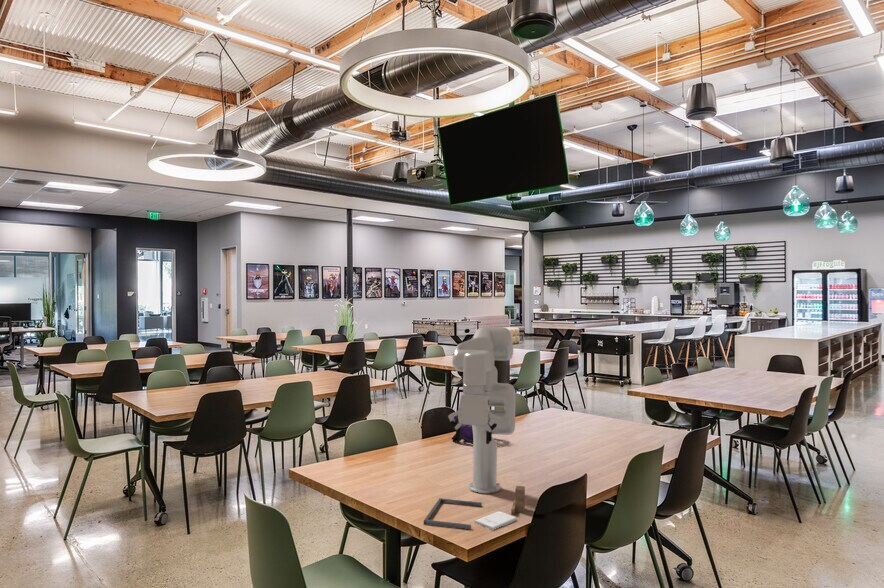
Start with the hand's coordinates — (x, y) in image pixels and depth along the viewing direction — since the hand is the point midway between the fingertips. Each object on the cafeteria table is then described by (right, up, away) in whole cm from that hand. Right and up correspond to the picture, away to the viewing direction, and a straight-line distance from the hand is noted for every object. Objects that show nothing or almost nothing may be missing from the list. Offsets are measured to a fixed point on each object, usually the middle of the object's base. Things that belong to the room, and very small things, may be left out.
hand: (473, 442), depth 178 cm
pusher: (+18, -29, +17) cm, 39 cm away
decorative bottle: (+5, -32, +117) cm, 122 cm away
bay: (-6, -29, +12) cm, 32 cm away
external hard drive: (+8, -30, +7) cm, 31 cm away
